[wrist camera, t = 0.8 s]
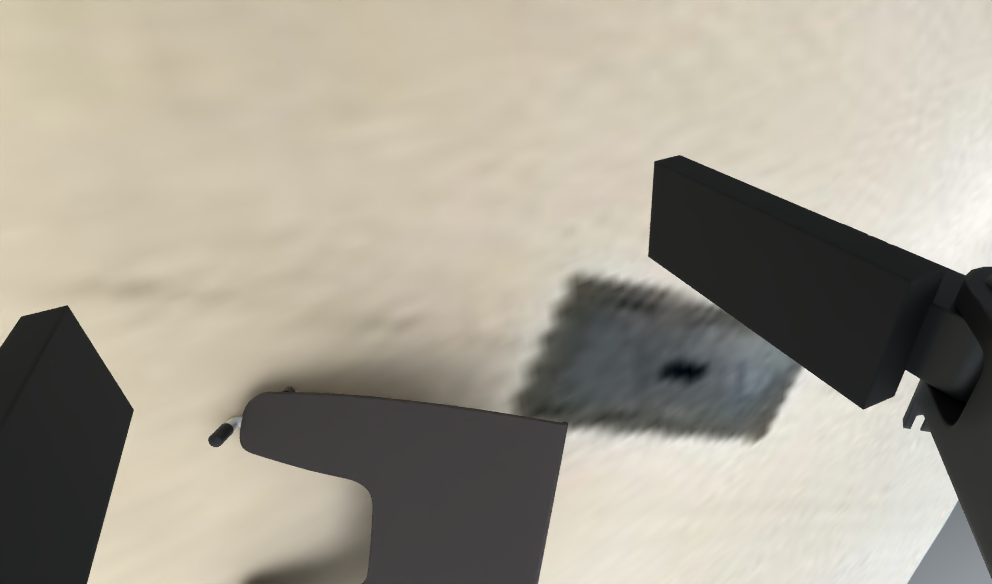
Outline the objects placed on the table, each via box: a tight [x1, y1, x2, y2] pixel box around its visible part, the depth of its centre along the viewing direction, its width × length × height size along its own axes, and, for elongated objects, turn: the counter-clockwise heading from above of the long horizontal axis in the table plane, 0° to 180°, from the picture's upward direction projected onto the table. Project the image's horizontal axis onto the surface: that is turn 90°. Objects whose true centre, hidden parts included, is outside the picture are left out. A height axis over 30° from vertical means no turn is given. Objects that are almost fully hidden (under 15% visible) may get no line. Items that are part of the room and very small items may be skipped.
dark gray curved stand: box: [208, 387, 568, 584], centre depth 41 cm, size 23×23×9 cm
